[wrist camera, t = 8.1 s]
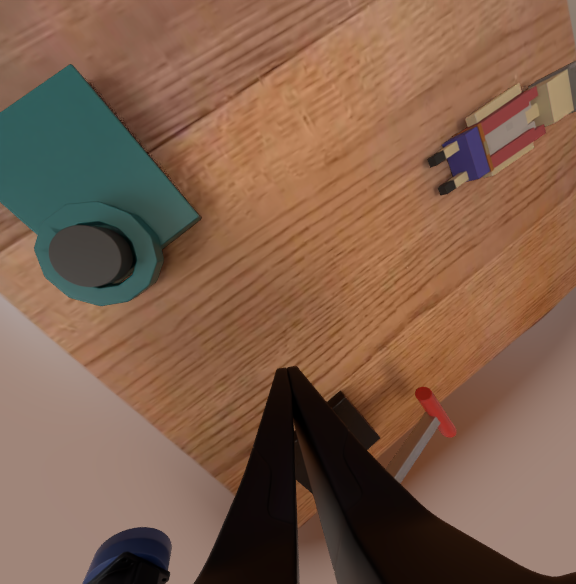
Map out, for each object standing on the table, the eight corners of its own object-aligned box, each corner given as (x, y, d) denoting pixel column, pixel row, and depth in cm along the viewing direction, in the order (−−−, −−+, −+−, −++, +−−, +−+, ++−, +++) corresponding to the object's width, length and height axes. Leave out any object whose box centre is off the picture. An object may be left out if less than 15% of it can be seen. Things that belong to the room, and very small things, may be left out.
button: (102, 293, 16) (87, 299, 14) (53, 250, 14) (31, 251, 13) (145, 259, 16) (135, 261, 14) (101, 215, 15) (85, 211, 13)
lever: (415, 381, 22) (440, 393, 20) (439, 417, 24) (465, 431, 22) (325, 503, 19) (343, 533, 17) (361, 533, 21) (382, 564, 19)
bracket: (340, 390, 26) (403, 472, 17) (374, 430, 28) (445, 521, 19) (271, 451, 25) (296, 572, 16) (312, 486, 28) (354, 609, 18)
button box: (122, 310, 19) (100, 324, 16) (-37, 168, 15) (-113, 146, 12) (216, 235, 20) (214, 234, 16) (86, 81, 16) (48, 37, 12)
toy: (446, 136, 19) (596, 33, 19) (412, 152, 23) (536, 67, 23) (468, 202, 21) (605, 108, 21) (433, 206, 25) (548, 128, 25)
